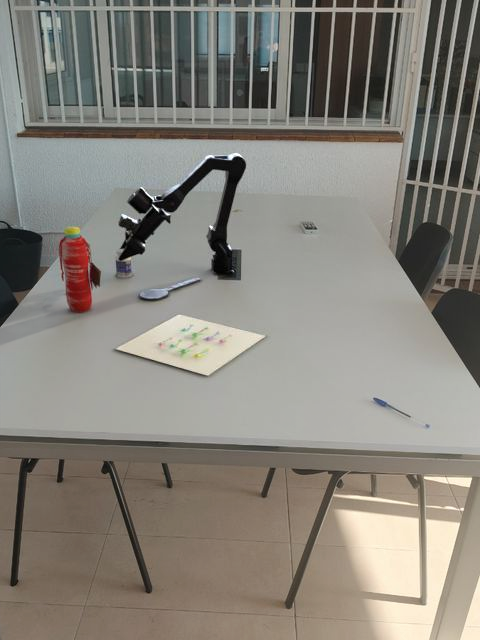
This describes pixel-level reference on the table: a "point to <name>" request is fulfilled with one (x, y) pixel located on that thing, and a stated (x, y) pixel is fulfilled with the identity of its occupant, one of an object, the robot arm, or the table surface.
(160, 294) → the spoon
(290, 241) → the table surface
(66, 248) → the water bottle
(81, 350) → the table surface
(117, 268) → the pill bottle
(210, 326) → the printed paper
